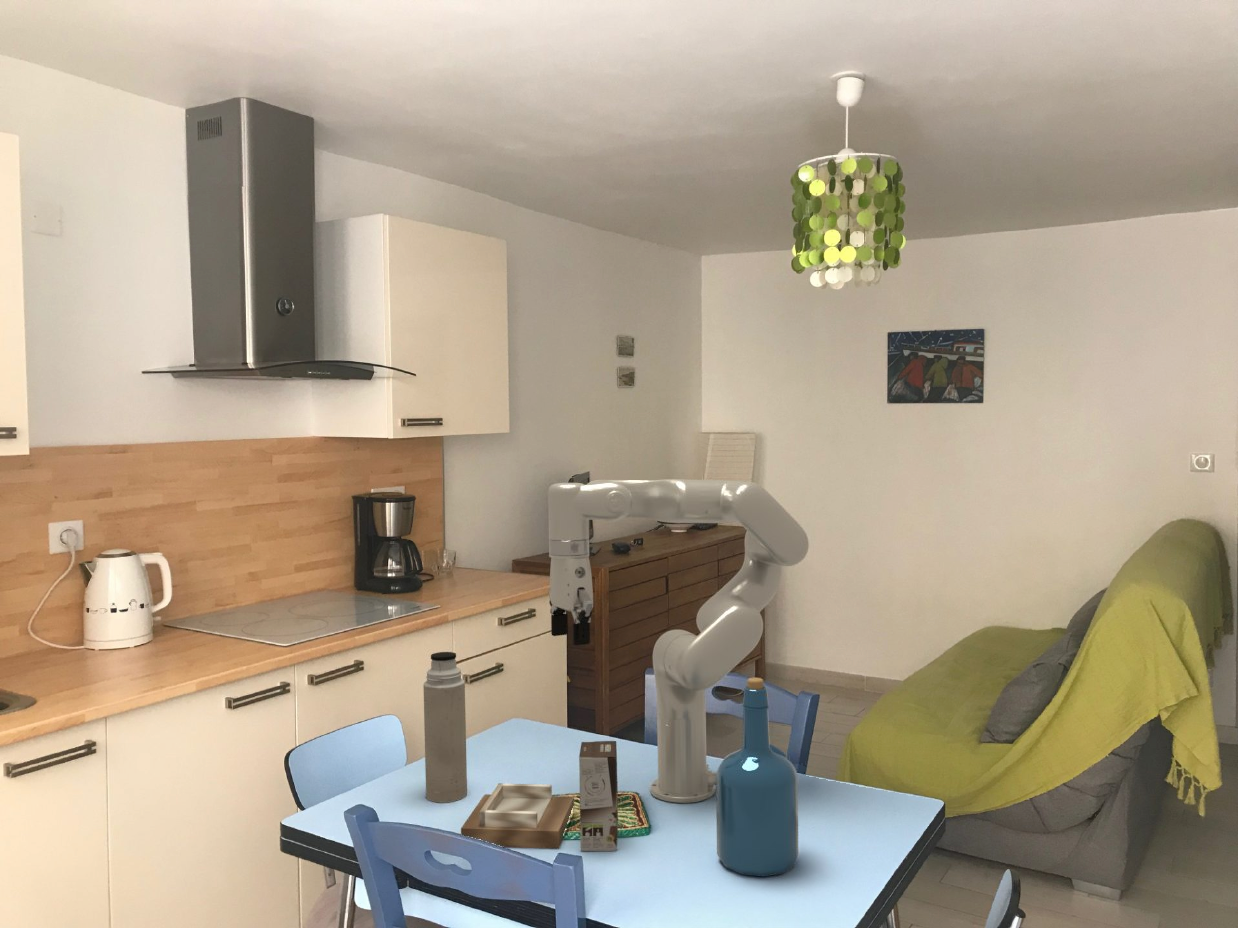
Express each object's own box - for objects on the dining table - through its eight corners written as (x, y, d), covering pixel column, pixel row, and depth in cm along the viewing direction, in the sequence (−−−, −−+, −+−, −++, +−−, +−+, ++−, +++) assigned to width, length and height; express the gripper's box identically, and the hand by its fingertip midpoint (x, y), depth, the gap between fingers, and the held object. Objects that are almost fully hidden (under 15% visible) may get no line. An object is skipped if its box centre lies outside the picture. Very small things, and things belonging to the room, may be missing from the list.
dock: (574, 812, 182) (573, 783, 182) (558, 848, 166) (558, 816, 166) (484, 809, 184) (484, 780, 184) (461, 845, 168) (460, 813, 168)
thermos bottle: (438, 786, 197) (435, 647, 196) (474, 790, 195) (471, 650, 194) (418, 800, 190) (414, 656, 189) (454, 804, 187) (451, 659, 186)
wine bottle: (779, 886, 151) (777, 693, 150) (703, 867, 158) (700, 683, 157) (812, 853, 162) (809, 674, 162) (739, 837, 169) (736, 665, 169)
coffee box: (617, 851, 165) (616, 756, 164) (579, 851, 165) (577, 756, 164) (619, 829, 174) (617, 739, 173) (582, 829, 174) (581, 739, 173)
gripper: (607, 551, 177) (609, 645, 178) (568, 543, 193) (569, 629, 193) (570, 554, 174) (571, 650, 174) (532, 545, 189) (533, 633, 190)
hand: (570, 639), depth 184 cm, fingers open, 9 cm apart
